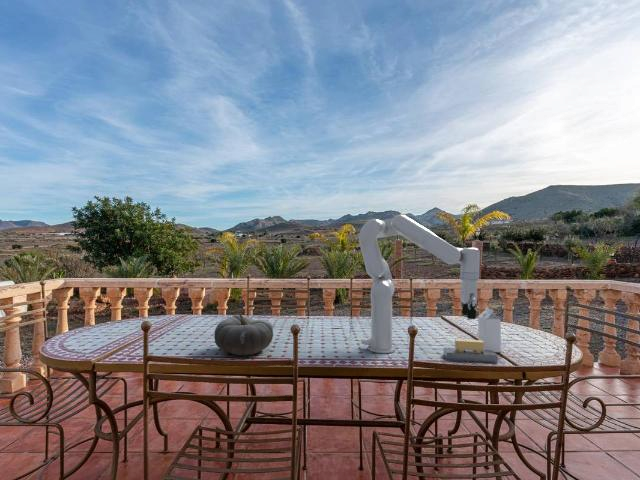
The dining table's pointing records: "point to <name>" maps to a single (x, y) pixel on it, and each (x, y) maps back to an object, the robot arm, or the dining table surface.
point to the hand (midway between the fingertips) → (468, 316)
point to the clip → (469, 345)
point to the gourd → (243, 335)
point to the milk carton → (489, 330)
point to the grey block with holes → (470, 355)
